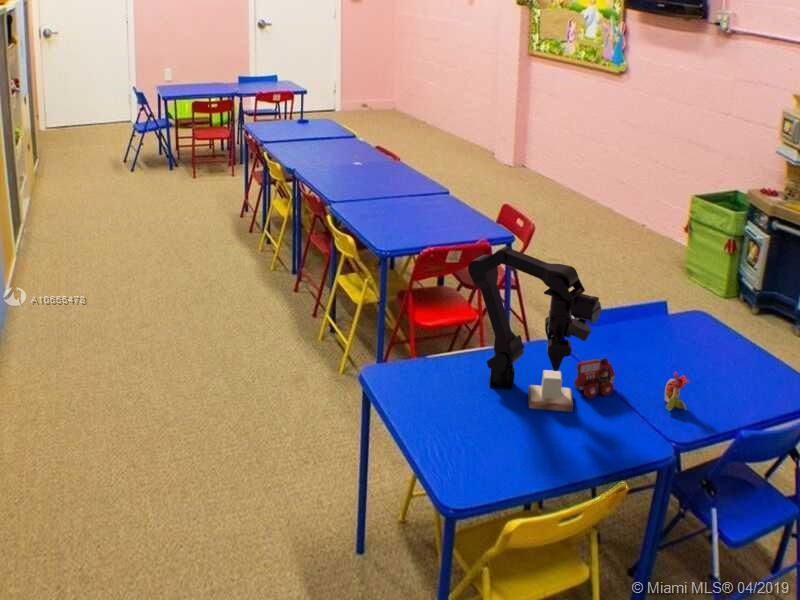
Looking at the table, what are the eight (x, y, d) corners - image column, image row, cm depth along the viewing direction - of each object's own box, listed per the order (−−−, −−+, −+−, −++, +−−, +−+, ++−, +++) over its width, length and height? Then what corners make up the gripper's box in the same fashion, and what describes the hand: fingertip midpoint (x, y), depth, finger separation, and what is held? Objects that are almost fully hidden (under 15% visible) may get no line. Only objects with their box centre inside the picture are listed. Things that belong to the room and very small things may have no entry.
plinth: (528, 408, 236) (529, 400, 235) (528, 391, 244) (529, 384, 243) (572, 411, 235) (573, 404, 234) (570, 394, 243) (571, 387, 242)
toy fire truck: (618, 393, 244) (623, 362, 240) (581, 400, 240) (585, 368, 236) (605, 382, 250) (610, 351, 246) (568, 388, 246) (572, 357, 242)
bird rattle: (655, 408, 241) (669, 413, 232) (654, 369, 241) (669, 373, 232) (676, 407, 242) (691, 412, 233) (675, 368, 242) (690, 372, 233)
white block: (541, 397, 236) (544, 378, 234) (541, 388, 241) (543, 369, 238) (559, 399, 236) (562, 379, 233) (558, 389, 240) (561, 370, 238)
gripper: (593, 329, 218) (587, 381, 225) (587, 299, 235) (581, 349, 242) (550, 326, 219) (544, 378, 226) (547, 296, 236) (542, 346, 243)
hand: (554, 362), depth 234 cm, fingers open, 9 cm apart
